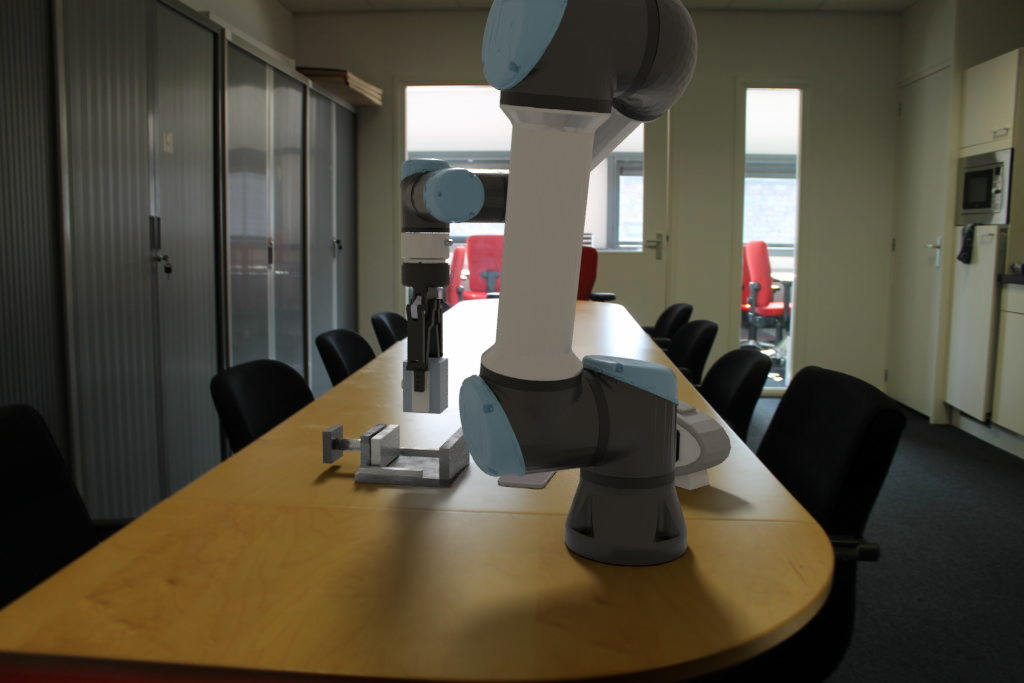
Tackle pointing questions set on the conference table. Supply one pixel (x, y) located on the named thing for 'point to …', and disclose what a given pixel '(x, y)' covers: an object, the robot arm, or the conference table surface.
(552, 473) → the smartphone
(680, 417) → the alarm clock
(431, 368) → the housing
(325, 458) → the ram
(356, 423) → the conference table surface
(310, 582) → the conference table surface
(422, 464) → the press bed
